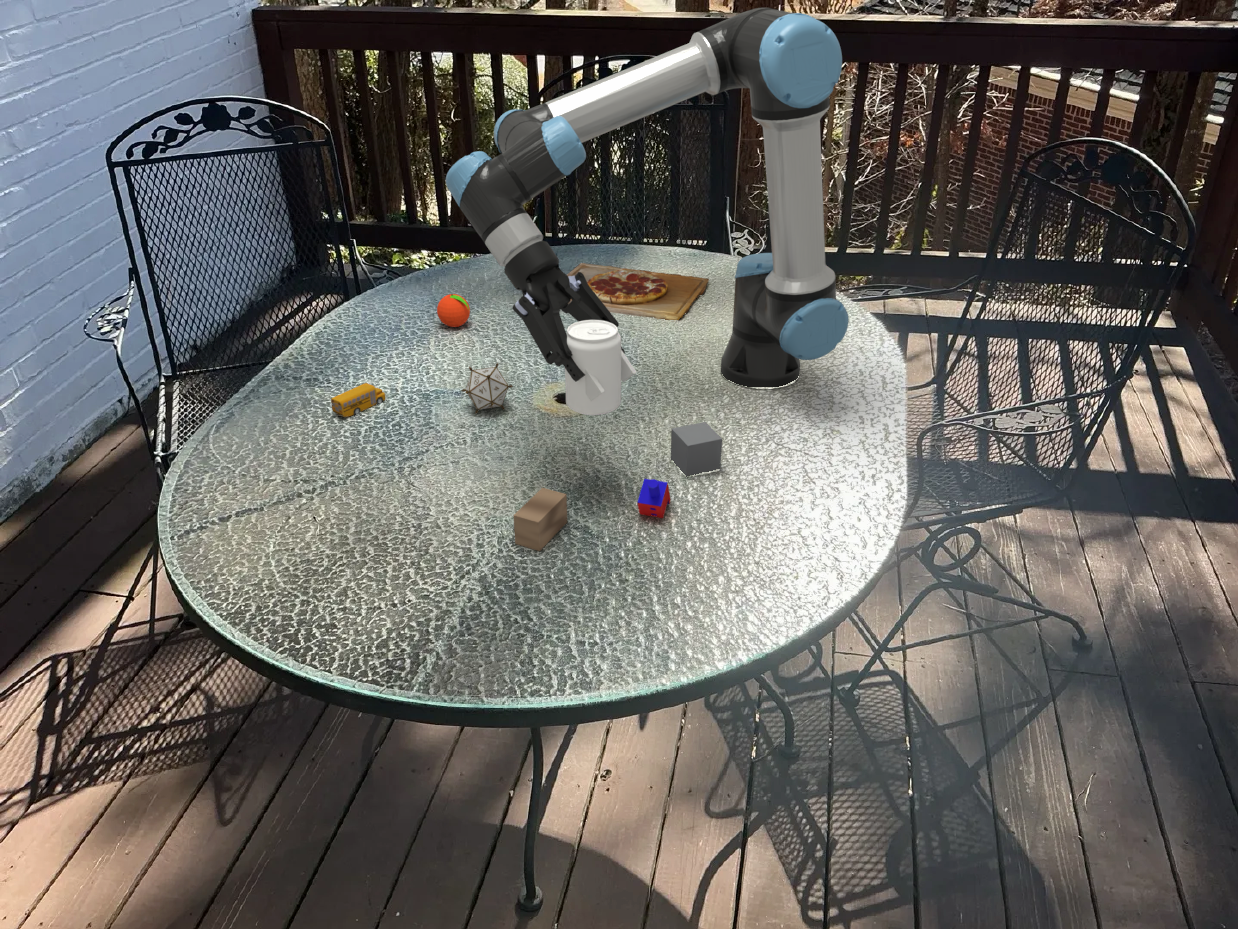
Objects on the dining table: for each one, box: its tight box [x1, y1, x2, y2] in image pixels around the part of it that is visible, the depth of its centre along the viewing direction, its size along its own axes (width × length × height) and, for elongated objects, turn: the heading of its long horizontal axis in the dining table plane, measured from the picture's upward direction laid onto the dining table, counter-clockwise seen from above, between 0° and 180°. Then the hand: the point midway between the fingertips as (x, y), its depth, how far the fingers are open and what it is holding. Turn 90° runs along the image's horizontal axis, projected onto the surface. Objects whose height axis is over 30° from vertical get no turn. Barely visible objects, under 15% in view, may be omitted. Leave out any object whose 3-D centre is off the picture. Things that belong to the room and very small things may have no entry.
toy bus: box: [330, 382, 386, 418], centre depth 167 cm, size 3×10×4 cm, turn 143°
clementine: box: [436, 293, 471, 328], centre depth 198 cm, size 8×7×7 cm
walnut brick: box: [513, 487, 568, 552], centre depth 134 cm, size 8×4×5 cm, turn 154°
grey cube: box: [670, 421, 723, 478], centre depth 150 cm, size 6×6×6 cm
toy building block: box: [636, 478, 671, 519], centre depth 138 cm, size 4×4×8 cm
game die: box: [460, 362, 514, 415], centre depth 166 cm, size 9×8×10 cm
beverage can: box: [564, 320, 622, 416], centre depth 135 cm, size 8×8×12 cm
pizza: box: [566, 262, 710, 321], centre depth 217 cm, size 35×28×4 cm
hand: (614, 386), depth 134 cm, fingers closed on beverage can, 7 cm apart
